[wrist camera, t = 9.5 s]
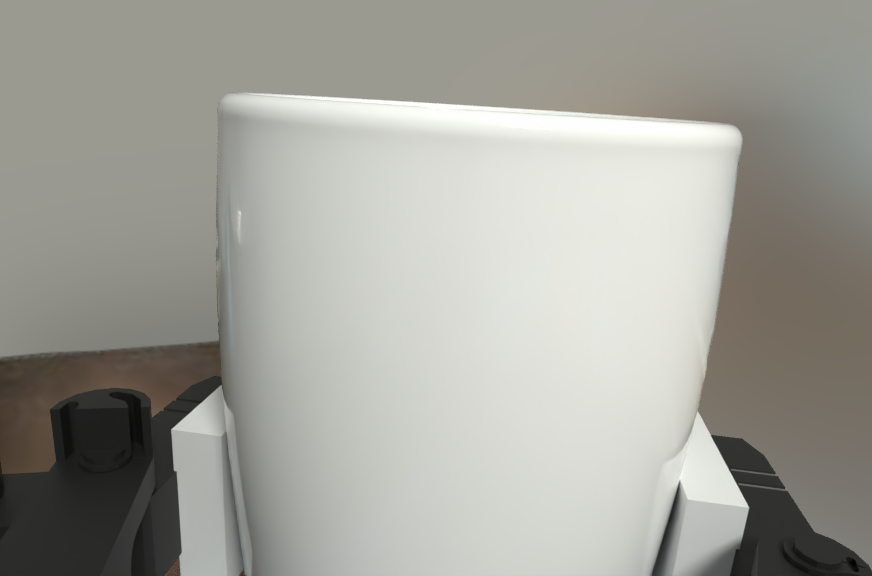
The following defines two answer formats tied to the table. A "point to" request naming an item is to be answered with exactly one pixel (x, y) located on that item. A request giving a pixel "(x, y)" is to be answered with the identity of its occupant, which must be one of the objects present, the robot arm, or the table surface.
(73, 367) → the table surface
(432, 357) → the drinking glass
